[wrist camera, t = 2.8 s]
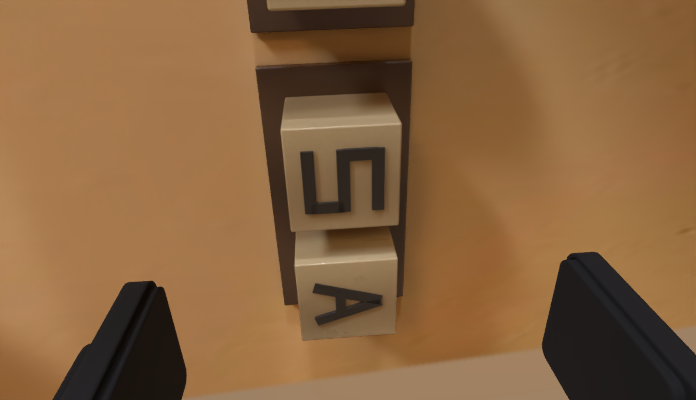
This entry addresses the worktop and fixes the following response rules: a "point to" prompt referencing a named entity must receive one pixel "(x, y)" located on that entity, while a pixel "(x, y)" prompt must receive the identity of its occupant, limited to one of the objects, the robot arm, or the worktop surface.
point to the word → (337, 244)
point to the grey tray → (328, 14)
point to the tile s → (341, 161)
